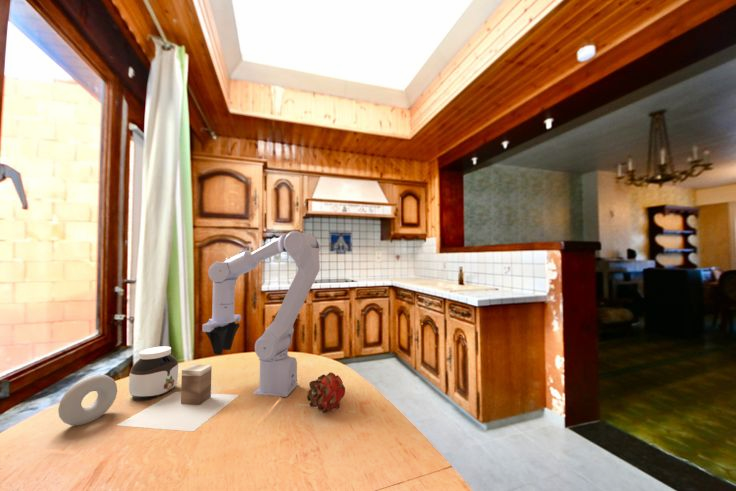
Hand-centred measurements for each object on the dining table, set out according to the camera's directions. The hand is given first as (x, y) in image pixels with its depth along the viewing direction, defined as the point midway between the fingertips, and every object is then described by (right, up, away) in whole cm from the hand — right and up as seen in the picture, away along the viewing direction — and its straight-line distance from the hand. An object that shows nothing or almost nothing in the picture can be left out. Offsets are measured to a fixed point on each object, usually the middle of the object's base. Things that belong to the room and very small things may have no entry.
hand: (222, 351), depth 81 cm
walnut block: (-1, -8, -10) cm, 13 cm away
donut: (-20, -9, -19) cm, 29 cm away
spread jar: (-17, -10, -4) cm, 20 cm away
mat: (-2, -9, -14) cm, 17 cm away
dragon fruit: (+32, -9, -13) cm, 35 cm away
